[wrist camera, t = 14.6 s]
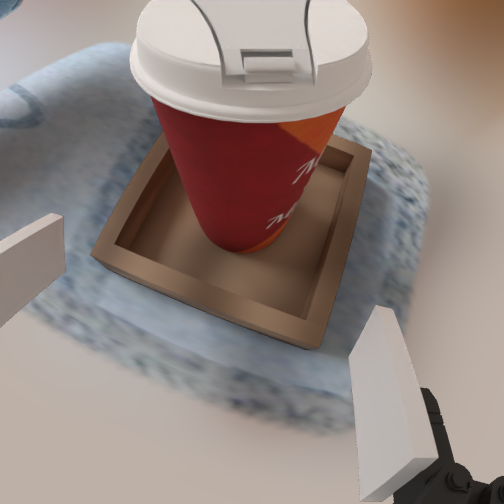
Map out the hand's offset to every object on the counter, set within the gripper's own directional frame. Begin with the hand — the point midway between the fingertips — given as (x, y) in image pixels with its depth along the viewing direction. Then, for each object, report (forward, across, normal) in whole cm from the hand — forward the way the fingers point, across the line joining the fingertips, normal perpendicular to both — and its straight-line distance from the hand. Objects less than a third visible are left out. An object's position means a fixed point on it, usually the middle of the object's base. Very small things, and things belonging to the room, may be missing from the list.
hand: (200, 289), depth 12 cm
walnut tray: (+11, 0, -1) cm, 11 cm away
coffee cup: (+11, 0, 0) cm, 11 cm away
